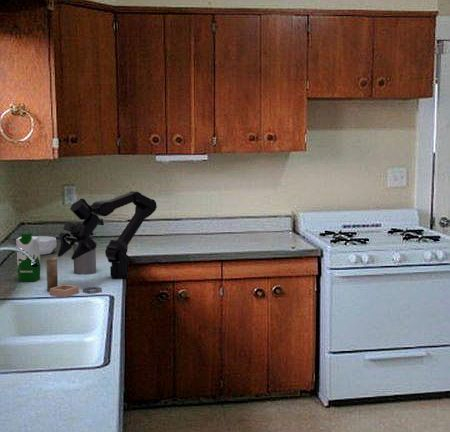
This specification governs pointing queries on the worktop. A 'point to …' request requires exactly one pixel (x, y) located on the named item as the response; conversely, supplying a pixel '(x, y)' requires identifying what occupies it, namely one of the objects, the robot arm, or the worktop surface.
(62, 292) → the collar
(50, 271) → the peg
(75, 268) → the pillar candle
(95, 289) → the washer
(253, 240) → the worktop surface
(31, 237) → the milk carton
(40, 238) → the paper bowls
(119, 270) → the robot arm
